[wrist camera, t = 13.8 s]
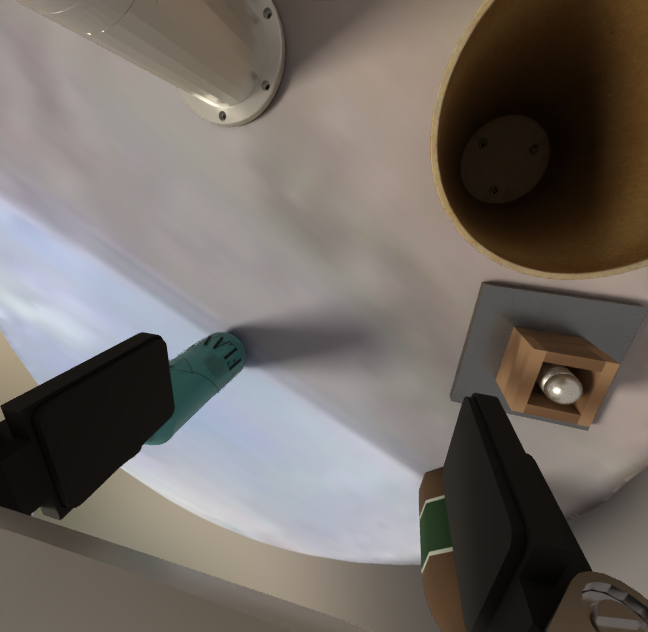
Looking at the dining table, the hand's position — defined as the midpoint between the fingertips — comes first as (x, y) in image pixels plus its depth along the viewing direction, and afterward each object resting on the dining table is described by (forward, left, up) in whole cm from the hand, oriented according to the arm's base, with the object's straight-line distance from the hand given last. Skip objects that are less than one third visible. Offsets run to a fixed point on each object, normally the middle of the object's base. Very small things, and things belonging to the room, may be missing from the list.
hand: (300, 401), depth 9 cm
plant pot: (-11, +10, -27) cm, 31 cm away
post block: (+7, +18, -27) cm, 33 cm away
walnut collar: (+8, +18, -26) cm, 32 cm away
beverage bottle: (+14, -18, -27) cm, 36 cm away
